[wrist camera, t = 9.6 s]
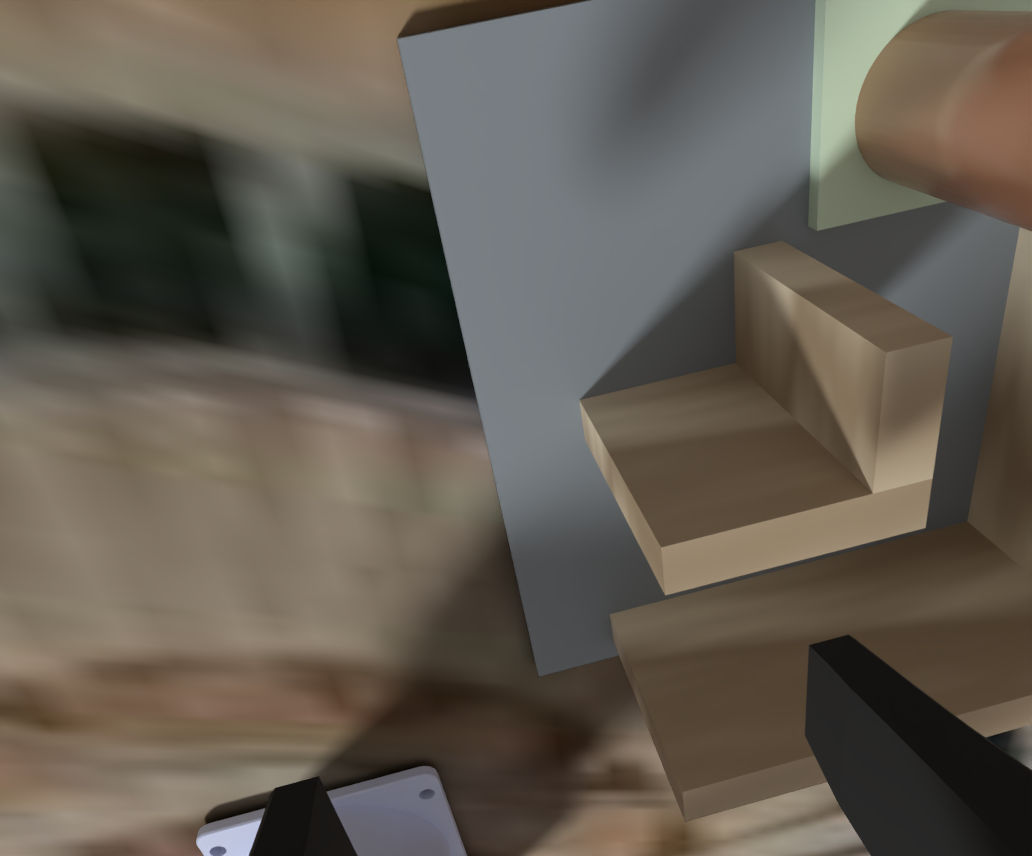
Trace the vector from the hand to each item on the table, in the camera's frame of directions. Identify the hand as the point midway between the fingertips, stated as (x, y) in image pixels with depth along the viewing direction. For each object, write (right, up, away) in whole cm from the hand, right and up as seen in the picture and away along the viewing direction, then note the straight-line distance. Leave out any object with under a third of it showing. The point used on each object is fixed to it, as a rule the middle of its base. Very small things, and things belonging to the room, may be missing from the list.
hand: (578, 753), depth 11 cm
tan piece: (+7, +5, +10) cm, 13 cm away
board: (+6, +7, +9) cm, 13 cm away
